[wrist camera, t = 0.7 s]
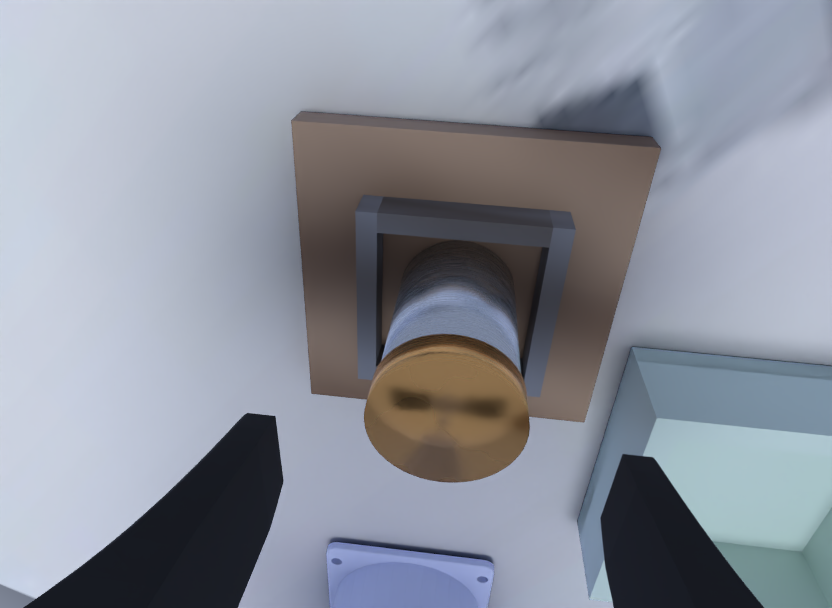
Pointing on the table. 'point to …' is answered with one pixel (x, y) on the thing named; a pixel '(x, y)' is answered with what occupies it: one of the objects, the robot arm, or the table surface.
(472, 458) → the metal can
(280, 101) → the table surface
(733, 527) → the bin
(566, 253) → the socket plate
